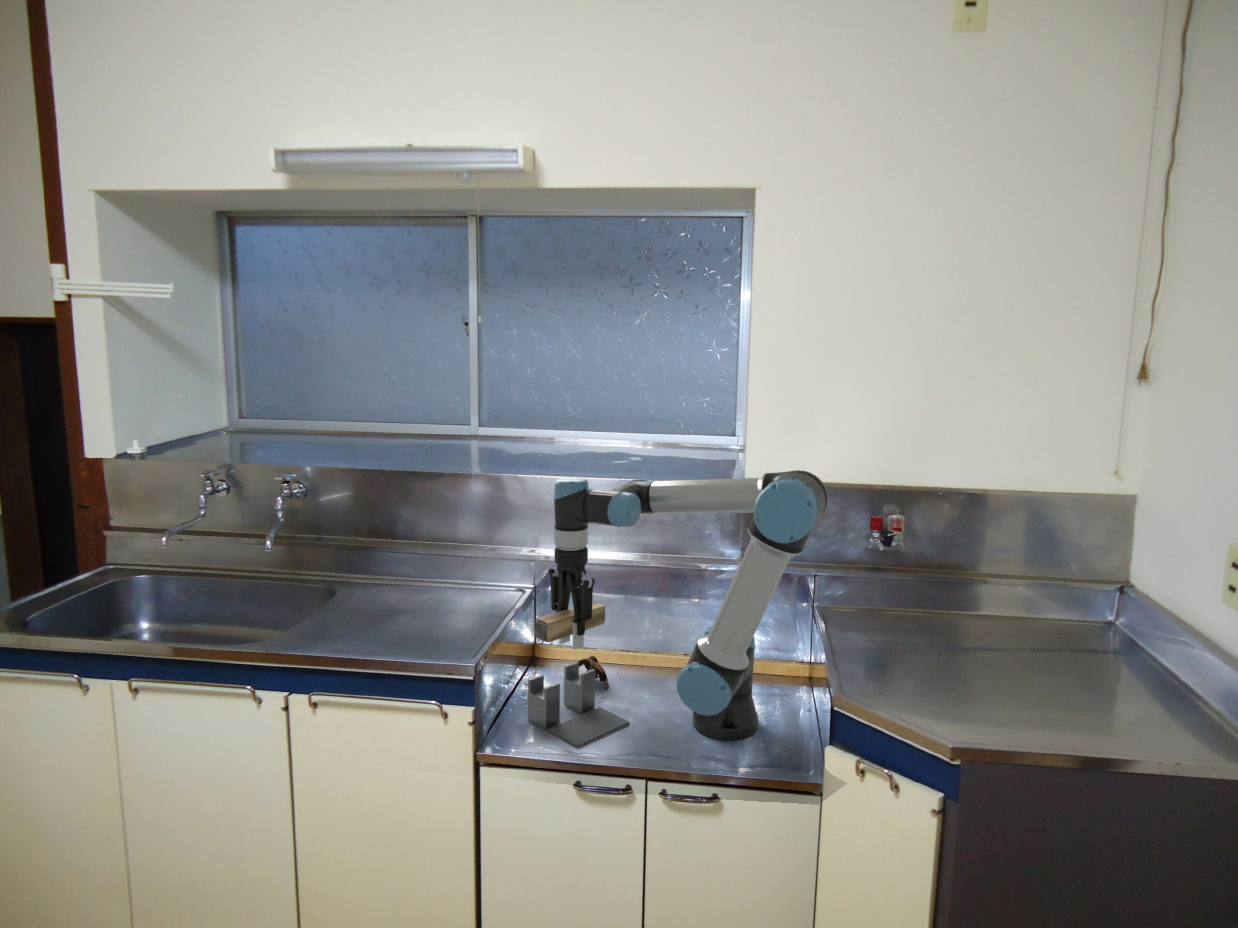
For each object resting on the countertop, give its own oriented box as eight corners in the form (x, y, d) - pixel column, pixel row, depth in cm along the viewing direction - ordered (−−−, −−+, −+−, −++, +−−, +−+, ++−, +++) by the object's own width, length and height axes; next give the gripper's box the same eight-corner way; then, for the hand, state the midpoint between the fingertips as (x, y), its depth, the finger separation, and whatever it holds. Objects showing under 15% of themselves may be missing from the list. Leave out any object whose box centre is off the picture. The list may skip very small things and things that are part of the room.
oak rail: (606, 623, 191) (606, 604, 190) (545, 643, 178) (545, 623, 178) (594, 618, 194) (594, 600, 193) (534, 638, 181) (534, 619, 181)
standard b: (559, 724, 187) (559, 683, 185) (546, 729, 184) (546, 688, 182) (541, 714, 191) (541, 674, 190) (527, 719, 188) (528, 679, 187)
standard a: (594, 709, 194) (595, 669, 193) (582, 714, 192) (582, 674, 190) (576, 699, 199) (576, 661, 197) (563, 704, 196) (564, 665, 194)
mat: (629, 723, 187) (629, 721, 187) (577, 747, 176) (577, 745, 176) (599, 708, 194) (599, 706, 194) (547, 731, 183) (548, 728, 183)
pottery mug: (610, 697, 202) (595, 672, 199) (577, 709, 204) (561, 685, 201) (613, 666, 213) (599, 642, 210) (581, 677, 215) (567, 654, 212)
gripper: (609, 550, 179) (608, 650, 183) (559, 536, 191) (560, 630, 195) (583, 556, 174) (583, 660, 178) (534, 541, 186) (535, 638, 190)
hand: (571, 644), depth 187 cm, fingers closed on oak rail, 4 cm apart
